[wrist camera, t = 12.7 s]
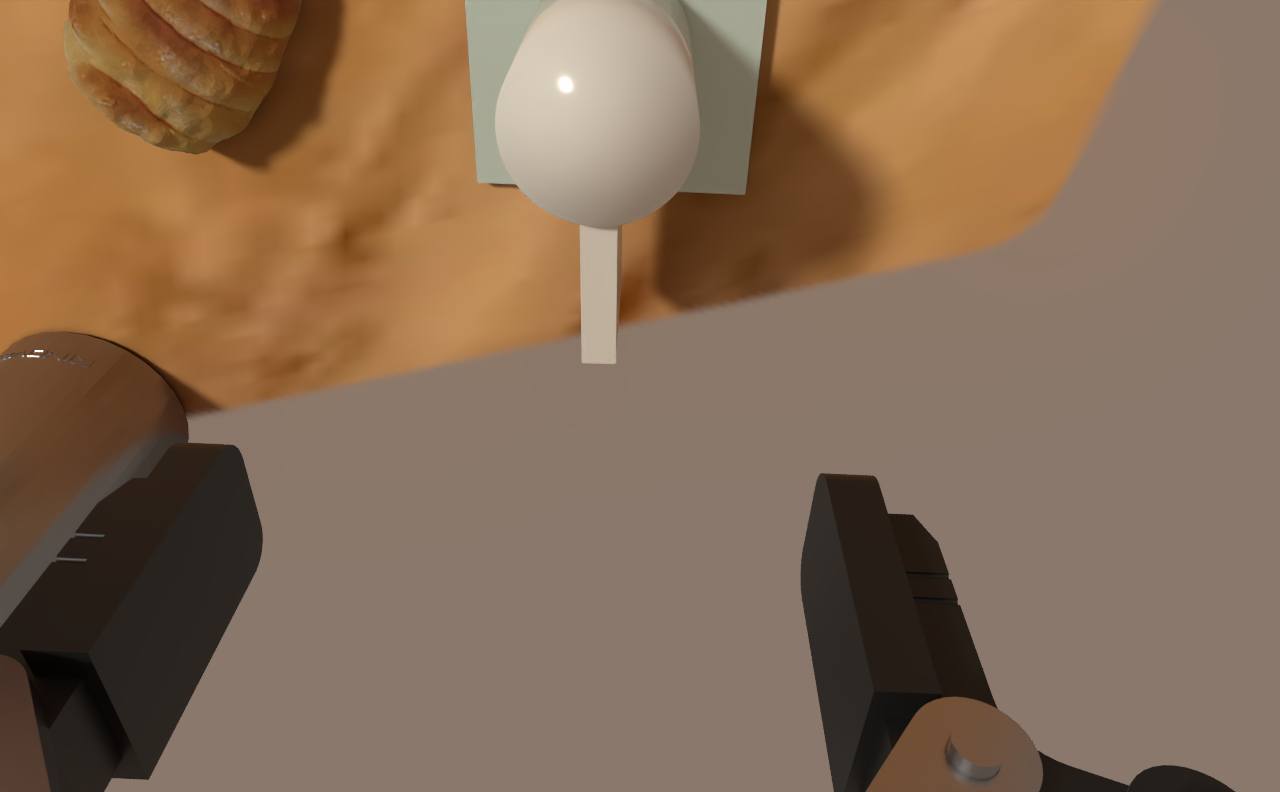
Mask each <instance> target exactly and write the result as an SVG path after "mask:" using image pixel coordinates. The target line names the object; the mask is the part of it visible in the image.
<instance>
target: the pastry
mask: <svg viewBox="0 0 1280 792" xmlns="http://www.w3.org/2000/svg"><path fill="white" fill-rule="evenodd" d="M301 5H302V0H71V1H70V3H69V19H68V20H67V21H66V22H65V24H64V27H63V38H64V42H65V57H66V59H67V61H68V68H67V69H68V74H69V76H70V78H71V80H72V82H73V84H74V85H75V86H76V87H77V89H78V90H79V91H80V92H81V93H82V94H83V95H84V96H85V97H86V98H87V99H88V100H89V102H90V103H91V104H93V105H94V106H95V107H96V108H97V109H98V110H99V111H100V112H102V113H103V114H104V115H105V116H106V117H108V118H109V119H110V120H111V121H112V122H113V123H114V124H115V125H117V126H118V127H120V128H122V129H124V130H126V131H128V132H131V133H133V134H136V135H138V136H140V137H141V138H142V139H143V140H144V141H146V142H148V143H150V144H153V145H155V146H157V147H160V148H163V149H167V150H171V151H181V152H185V153H192V154H200V153H204V152H207V151H208V150H210V149H211V148H212V147H213V146H214V145H215V144H217V143H218V142H220V141H221V140H224V139H228V138H230V137H233V136H234V135H236V134H238V133H240V132H242V131H243V130H244V129H245V128H246V127H247V126H248V125H249V123H250V121H251V118H252V116H253V114H254V112H255V111H256V109H257V108H258V107H259V105H260V104H261V102H262V100H263V99H264V97H265V96H266V95H267V94H268V93H269V91H270V89H271V88H272V86H273V83H274V81H275V78H276V76H277V72H278V69H279V66H280V64H281V61H282V58H283V56H284V53H285V50H286V47H287V45H288V43H289V40H290V36H291V34H292V32H293V30H294V27H295V24H296V21H297V18H298V15H299V12H300V9H301Z"/></svg>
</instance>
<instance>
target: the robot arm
mask: <svg viewBox="0 0 1280 792" xmlns="http://www.w3.org/2000/svg"><path fill="white" fill-rule="evenodd" d="M188 439H189V438H188V422H187V419H186V415H185V412H184V409H183V407H182V405H181V403H180V401H179V400H178V398H177V396H176V394H175V392H174V391H173V390H172V389H171V388H170V386H169V385H168V384H167V383H166V382H165V380H164V379H163V378H162V377H161V376H160V375H159V374H158V373H157V372H155V371H154V370H153V369H152V368H151V367H150V366H149V365H147V364H146V363H145V362H144V361H142V360H140V359H139V358H137V357H136V356H134V355H133V354H131V353H130V352H128V351H127V350H124V349H122V348H120V347H118V346H116V345H114V344H111V343H109V342H107V341H104V340H101V339H98V338H94V337H91V336H88V335H84V334H77V333H69V332H45V333H39V334H36V335H32V336H28V337H25V338H23V339H21V340H20V341H18V342H16V343H14V344H13V345H11V346H10V347H9V348H8V349H7V350H5V351H4V352H3V353H2V354H1V355H0V792H104V791H105V789H106V787H107V785H108V783H109V782H110V780H111V778H124V779H146V780H148V779H149V778H150V776H151V774H152V772H153V770H154V768H155V766H156V764H157V762H158V760H159V758H160V757H161V755H162V753H163V751H164V749H165V747H166V745H167V743H168V741H169V739H170V737H171V735H172V733H173V731H174V729H175V727H176V725H177V723H178V722H179V720H180V718H181V716H182V714H183V712H184V710H185V708H186V706H187V704H188V702H189V700H190V698H191V696H192V694H193V693H194V690H195V688H196V686H197V685H198V683H199V681H200V679H201V677H202V675H203V673H204V671H205V669H206V667H207V665H208V663H209V662H210V659H211V658H212V656H213V654H214V652H215V650H216V648H217V646H218V644H219V642H220V640H221V638H222V636H223V634H224V632H225V630H226V628H227V627H228V624H229V623H230V621H231V619H232V617H233V615H234V613H235V611H236V609H237V607H238V605H239V603H240V601H241V599H242V597H243V595H244V594H245V592H246V590H247V588H248V586H249V584H250V582H251V580H252V578H253V576H254V574H255V572H256V570H257V567H258V564H259V561H260V557H261V552H262V541H263V537H262V527H261V523H260V519H259V515H258V512H257V508H256V504H255V501H254V497H253V493H252V490H251V486H250V483H249V479H248V475H247V472H246V468H245V465H244V461H243V458H242V455H241V453H240V451H239V449H238V448H237V447H236V446H234V445H224V444H201V443H188ZM801 561H802V562H801V594H802V601H803V607H804V613H805V619H806V625H807V631H808V637H809V643H810V649H811V656H812V661H813V668H814V674H815V680H816V686H817V692H818V698H819V703H820V710H821V716H822V721H823V728H824V734H825V740H826V746H827V752H828V758H829V764H830V770H831V776H832V782H833V788H834V792H1235V791H1233V790H1232V789H1230V788H1229V787H1228V786H1226V785H1225V784H1223V783H1221V782H1220V781H1218V780H1216V779H1214V778H1212V777H1210V776H1208V775H1206V774H1203V773H1201V772H1199V771H1195V770H1192V769H1189V768H1185V767H1179V766H1169V765H1168V766H1166V765H1162V766H1156V767H1152V768H1149V769H1146V770H1144V771H1143V772H1141V773H1140V774H1138V775H1137V776H1136V777H1135V778H1134V780H1133V781H1132V782H1131V784H1130V786H1128V785H1125V784H1122V783H1119V782H1116V781H1113V780H1110V779H1107V778H1104V777H1101V776H1098V775H1095V774H1092V773H1089V772H1086V771H1083V770H1080V769H1077V768H1074V767H1071V766H1068V765H1066V764H1063V763H1061V762H1058V761H1056V760H1054V759H1052V758H1050V757H1048V756H1046V755H1044V754H1043V753H1041V752H1040V751H1038V750H1037V749H1036V747H1035V745H1034V743H1033V741H1032V740H1031V739H1030V737H1029V736H1028V735H1027V733H1026V732H1025V731H1024V730H1023V729H1022V728H1021V726H1019V724H1018V723H1016V722H1015V721H1014V720H1012V718H1010V717H1009V716H1008V715H1006V714H1005V713H1003V712H1002V711H1000V710H998V708H997V706H996V704H995V701H994V699H993V697H992V694H991V691H990V688H989V686H988V683H987V680H986V677H985V674H984V671H983V668H982V666H981V663H980V660H979V657H978V654H977V651H976V649H975V646H974V643H973V640H972V637H971V635H970V632H969V629H968V626H967V623H966V620H965V618H964V615H963V612H962V609H961V606H960V605H958V603H957V600H958V598H957V595H956V592H955V589H954V587H953V584H952V581H951V580H950V579H949V577H948V575H949V573H948V570H947V567H946V564H945V561H944V558H943V556H942V553H941V550H940V547H939V544H938V542H937V541H936V540H935V539H934V538H933V537H932V535H931V534H930V533H929V532H928V531H927V530H926V529H925V528H924V527H923V525H922V524H921V523H920V522H919V521H918V520H917V519H916V518H915V517H914V515H906V514H888V513H887V509H886V506H885V503H884V499H883V496H882V492H881V489H880V486H879V483H878V480H877V479H876V477H874V476H868V475H846V474H824V473H822V474H820V475H819V477H818V479H817V482H816V486H815V491H814V497H813V502H812V507H811V512H810V517H809V522H808V527H807V532H806V537H805V542H804V547H803V552H802V560H801Z"/></svg>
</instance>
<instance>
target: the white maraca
mask: <svg viewBox="0 0 1280 792" xmlns="http://www.w3.org/2000/svg"><path fill="white" fill-rule="evenodd" d="M495 132H496V139H497V145H498V148H499V152H500V155H501V158H502V160H503V163H504V165H505V167H506V169H507V171H508V173H509V174H510V176H511V178H512V179H513V181H514V182H515V183H516V185H517V186H518V187H519V189H520V190H521V191H522V192H523V193H524V194H525V195H526V196H527V197H528V198H529V199H530V200H531V201H532V202H534V203H535V204H536V205H537V206H539V207H540V208H542V209H543V210H545V211H546V212H548V213H550V214H552V215H554V216H556V217H558V218H560V219H563V220H566V221H569V222H571V223H575V224H580V273H581V341H582V363H603V364H616V353H617V338H618V323H619V308H620V293H621V266H622V225H623V224H626V223H630V222H633V221H636V220H639V219H641V218H643V217H646V216H648V215H649V214H651V213H653V212H655V211H656V210H658V209H659V208H660V207H662V206H663V205H664V204H666V203H667V202H668V201H669V200H670V199H671V198H672V197H673V196H674V195H675V194H676V193H677V192H678V190H679V189H680V188H681V186H682V185H683V184H684V182H685V180H686V179H687V177H688V175H689V174H690V172H691V169H692V167H693V164H694V162H695V159H696V155H697V152H698V147H699V140H700V118H699V109H698V100H697V91H696V83H695V74H694V65H693V56H692V47H691V38H690V31H689V26H688V22H687V18H686V16H685V13H684V11H683V8H682V6H681V5H680V3H679V1H678V0H541V1H540V3H539V5H538V7H537V9H536V12H535V14H534V16H533V18H532V21H531V23H530V25H529V27H528V29H527V32H526V34H525V36H524V38H523V40H522V43H521V45H520V47H519V49H518V52H517V54H516V56H515V58H514V60H513V63H512V65H511V67H510V69H509V71H508V74H507V76H506V78H505V80H504V83H503V85H502V87H501V90H500V93H499V97H498V100H497V105H496V113H495Z"/></svg>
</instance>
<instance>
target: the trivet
mask: <svg viewBox="0 0 1280 792" xmlns="http://www.w3.org/2000/svg"><path fill="white" fill-rule="evenodd" d="M540 1H541V0H465V7H466V22H467V36H468V51H469V66H470V80H471V95H472V110H473V124H474V139H475V154H476V168H477V183H497V184H516V183H515V182H514V181H513V179H512V178H511V176H510V174H509V173H508V171H507V169H506V167H505V165H504V163H503V160H502V158H501V155H500V152H499V148H498V145H497V139H496V132H495V113H496V105H497V100H498V97H499V93H500V90H501V87H502V85H503V83H504V80H505V78H506V76H507V74H508V71H509V69H510V67H511V65H512V63H513V60H514V58H515V56H516V54H517V52H518V49H519V47H520V45H521V43H522V40H523V38H524V36H525V34H526V32H527V29H528V27H529V25H530V23H531V21H532V18H533V16H534V14H535V12H536V9H537V7H538V5H539V3H540ZM678 1H679V3H680V5H681V6H682V8H683V11H684V13H685V16H686V18H687V22H688V26H689V31H690V38H691V47H692V56H693V65H694V74H695V83H696V91H697V100H698V109H699V118H700V140H699V147H698V152H697V155H696V159H695V162H694V164H693V167H692V169H691V172H690V174H689V175H688V177H687V179H686V180H685V182H684V184H683V185H682V186H681V188H680V189H679V190H678V192H693V193H714V194H736V195H745V193H746V184H747V175H748V166H749V157H750V148H751V139H752V130H753V121H754V112H755V104H756V95H757V86H758V77H759V68H760V59H761V50H762V41H763V32H764V23H765V14H766V5H767V0H678Z"/></svg>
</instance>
